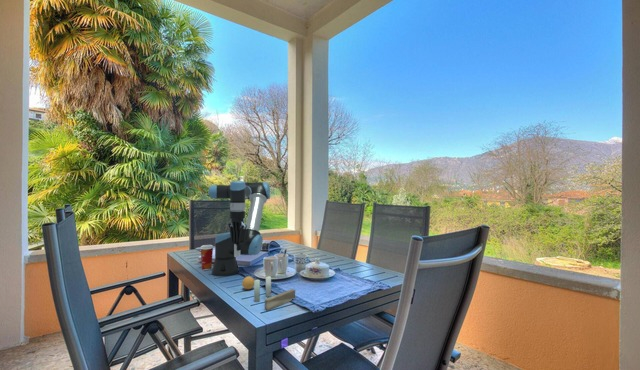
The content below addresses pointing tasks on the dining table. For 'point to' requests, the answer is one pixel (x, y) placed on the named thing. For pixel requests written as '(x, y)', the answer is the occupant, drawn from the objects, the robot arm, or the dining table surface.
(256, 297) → the sage pin
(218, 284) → the dining table surface
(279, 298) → the back wall
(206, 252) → the paper cup
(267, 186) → the robot arm
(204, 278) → the dining table surface
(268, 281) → the ivory pin
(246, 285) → the ball
